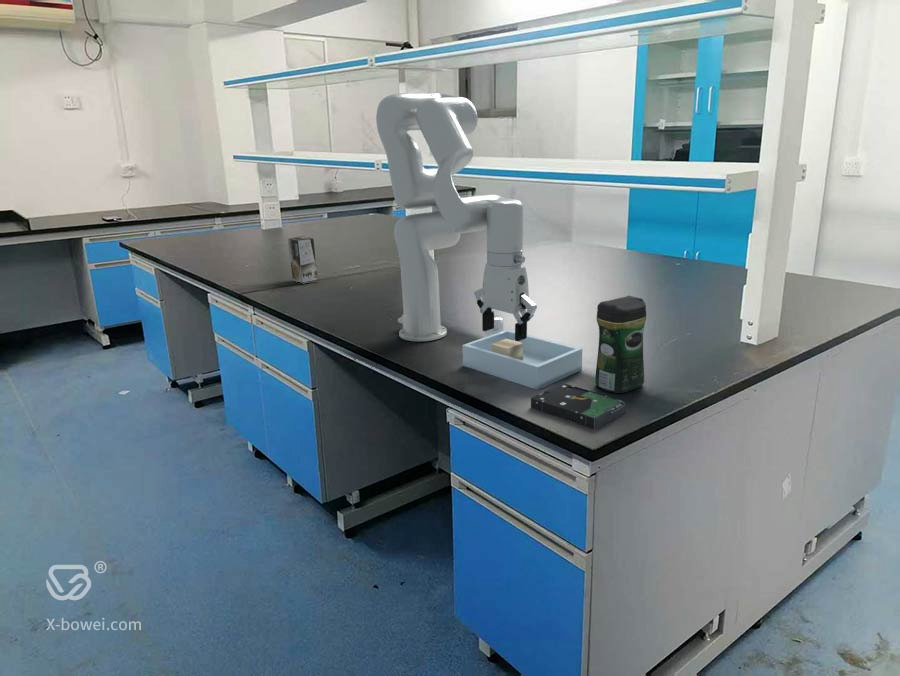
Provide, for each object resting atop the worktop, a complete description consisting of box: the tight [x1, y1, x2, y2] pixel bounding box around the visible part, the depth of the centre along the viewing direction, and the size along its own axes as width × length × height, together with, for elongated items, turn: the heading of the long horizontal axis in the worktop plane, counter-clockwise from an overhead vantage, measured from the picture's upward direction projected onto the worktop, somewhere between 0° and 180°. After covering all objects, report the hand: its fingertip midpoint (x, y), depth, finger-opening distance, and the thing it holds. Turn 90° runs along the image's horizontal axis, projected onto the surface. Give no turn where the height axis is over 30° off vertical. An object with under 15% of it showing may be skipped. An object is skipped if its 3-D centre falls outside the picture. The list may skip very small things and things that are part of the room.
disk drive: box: [530, 382, 627, 430], centre depth 124 cm, size 10×3×15 cm
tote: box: [461, 329, 583, 391], centre depth 146 cm, size 22×15×5 cm
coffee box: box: [287, 235, 319, 282], centre depth 240 cm, size 9×6×16 cm
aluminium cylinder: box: [482, 314, 505, 338], centre depth 162 cm, size 5×5×7 cm
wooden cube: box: [491, 339, 523, 360], centre depth 145 cm, size 5×5×5 cm
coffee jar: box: [594, 295, 647, 394], centre depth 132 cm, size 10×8×19 cm
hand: (504, 334), depth 145 cm, fingers open, 9 cm apart
